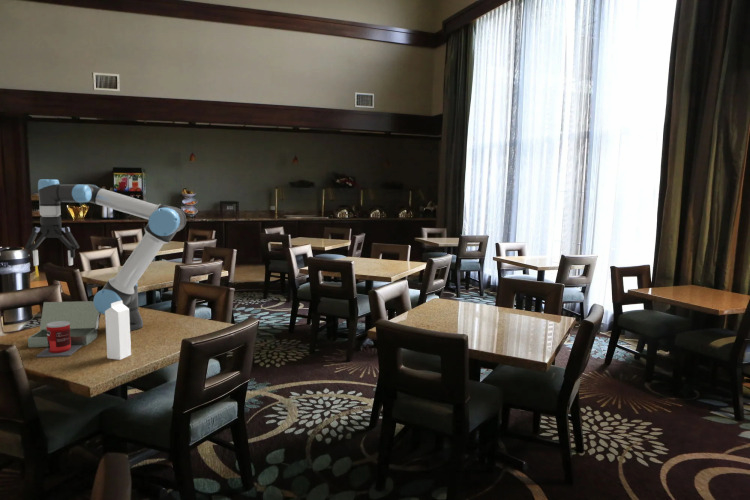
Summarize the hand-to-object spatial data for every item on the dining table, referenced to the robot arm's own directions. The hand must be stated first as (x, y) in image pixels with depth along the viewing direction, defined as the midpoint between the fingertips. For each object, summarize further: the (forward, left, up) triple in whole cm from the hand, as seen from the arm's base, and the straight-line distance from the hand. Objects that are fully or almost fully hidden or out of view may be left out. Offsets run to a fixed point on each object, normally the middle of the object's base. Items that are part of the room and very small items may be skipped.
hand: (53, 265), depth 216 cm
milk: (-34, +30, -32) cm, 55 cm away
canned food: (-9, +21, -31) cm, 39 cm away
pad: (-9, +21, -32) cm, 39 cm away
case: (-6, +5, -32) cm, 33 cm away
